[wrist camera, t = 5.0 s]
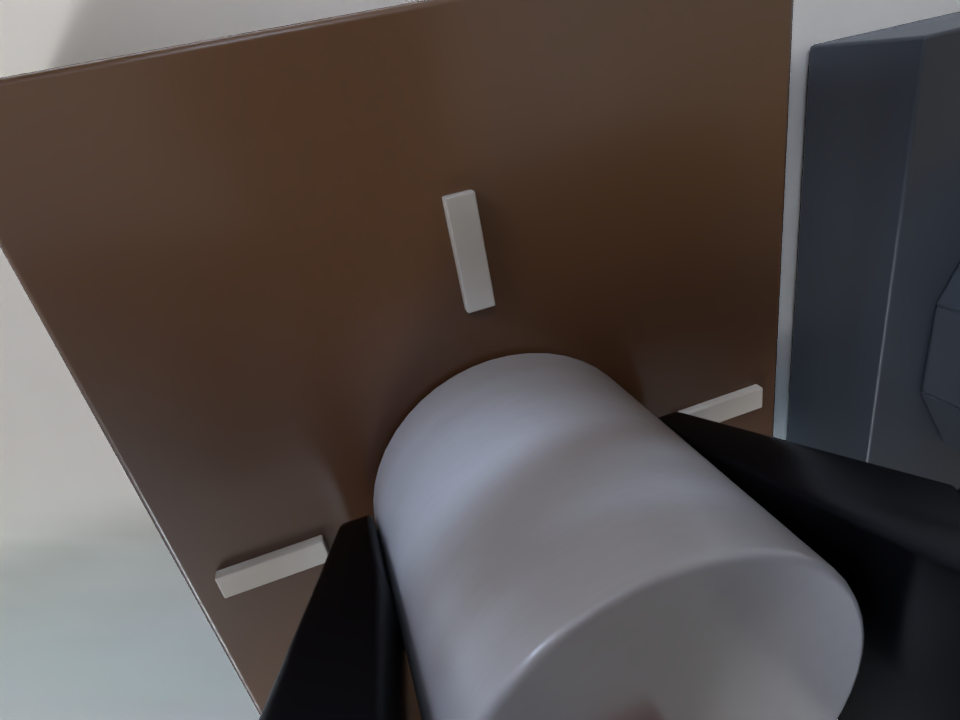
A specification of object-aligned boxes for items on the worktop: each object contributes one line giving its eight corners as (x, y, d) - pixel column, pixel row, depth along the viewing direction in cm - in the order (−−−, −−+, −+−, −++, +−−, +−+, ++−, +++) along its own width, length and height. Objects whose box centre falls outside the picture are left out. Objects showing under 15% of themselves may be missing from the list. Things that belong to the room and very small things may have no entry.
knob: (628, 313, 8) (931, 505, 4) (645, 536, 10) (872, 807, 6) (335, 405, 7) (397, 730, 4) (411, 627, 9) (505, 1000, 5)
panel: (678, 543, 15) (770, 647, 12) (314, 686, 13) (325, 845, 10) (654, -25, 9) (810, -73, 7) (34, 93, 8) (-100, 93, 5)
